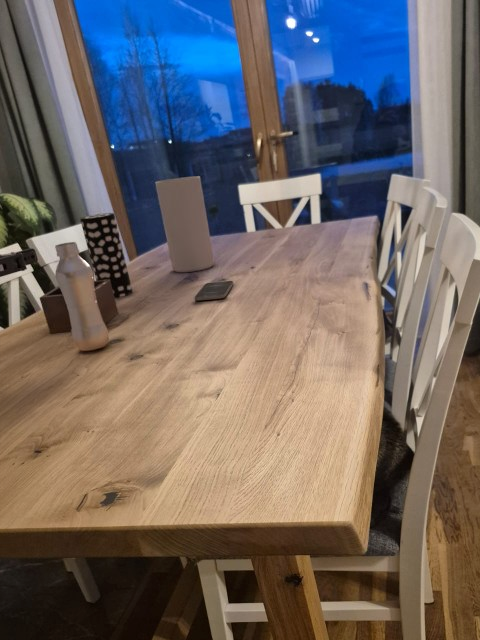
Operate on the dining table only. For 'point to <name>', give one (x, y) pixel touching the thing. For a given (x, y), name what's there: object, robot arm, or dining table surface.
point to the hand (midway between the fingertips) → (15, 255)
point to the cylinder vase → (185, 223)
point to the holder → (59, 312)
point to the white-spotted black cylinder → (107, 252)
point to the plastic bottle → (80, 298)
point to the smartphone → (214, 290)
